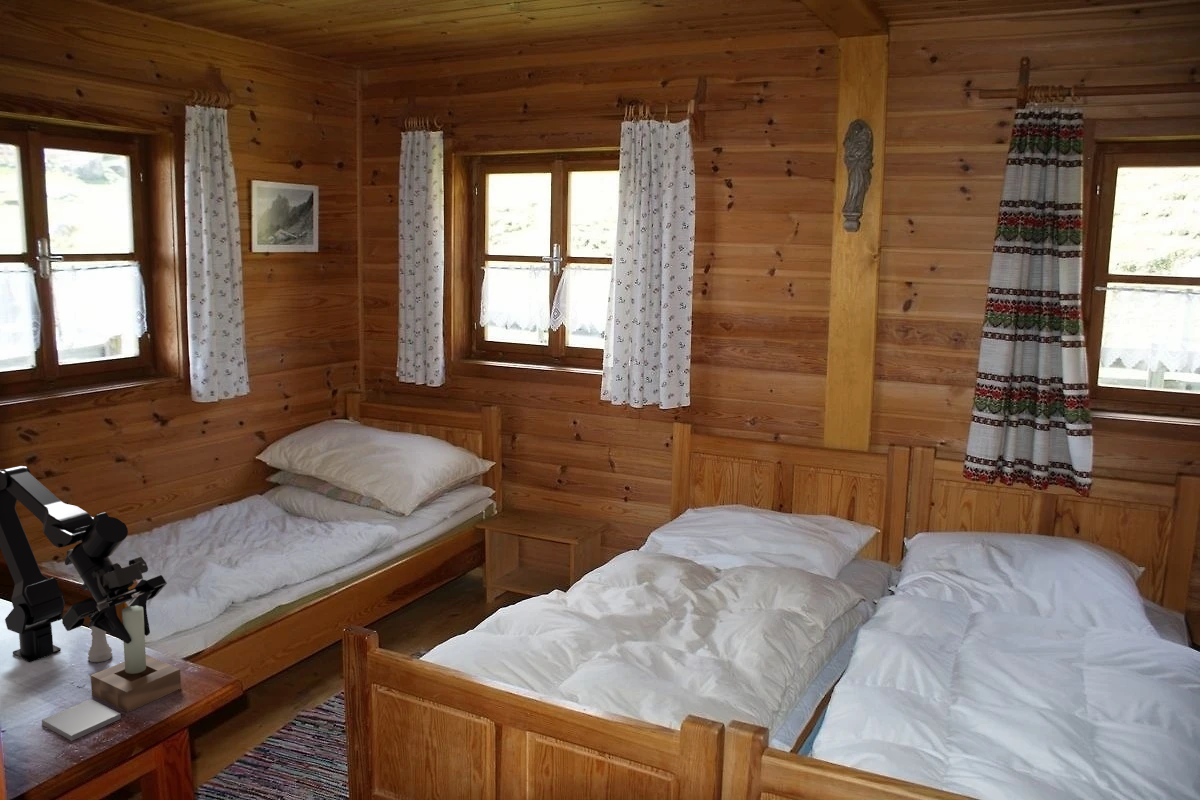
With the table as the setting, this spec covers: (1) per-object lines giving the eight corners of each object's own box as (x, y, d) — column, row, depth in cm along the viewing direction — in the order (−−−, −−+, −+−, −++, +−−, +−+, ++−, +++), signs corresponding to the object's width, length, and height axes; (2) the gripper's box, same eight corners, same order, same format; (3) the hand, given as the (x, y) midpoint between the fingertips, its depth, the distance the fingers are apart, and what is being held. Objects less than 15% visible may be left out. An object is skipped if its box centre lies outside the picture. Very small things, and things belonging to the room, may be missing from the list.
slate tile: (42, 724, 170) (41, 719, 170) (91, 703, 178) (90, 698, 177) (71, 740, 165) (71, 735, 165) (120, 718, 173) (120, 713, 173)
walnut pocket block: (91, 694, 181) (90, 675, 180) (145, 672, 190) (144, 653, 189) (127, 712, 175) (126, 692, 175) (180, 688, 185) (180, 669, 184)
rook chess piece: (102, 664, 192) (100, 627, 191) (82, 661, 193) (80, 624, 192) (117, 654, 197) (115, 618, 195) (98, 652, 198) (96, 615, 196)
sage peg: (121, 670, 181) (117, 610, 179) (138, 662, 184) (135, 604, 182) (132, 675, 179) (129, 615, 177) (150, 668, 182) (147, 608, 180)
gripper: (68, 562, 171) (112, 635, 168) (158, 533, 187) (200, 599, 184) (42, 594, 176) (86, 666, 173) (132, 563, 192) (173, 628, 189)
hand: (139, 638), depth 180 cm, fingers closed on sage peg, 4 cm apart
